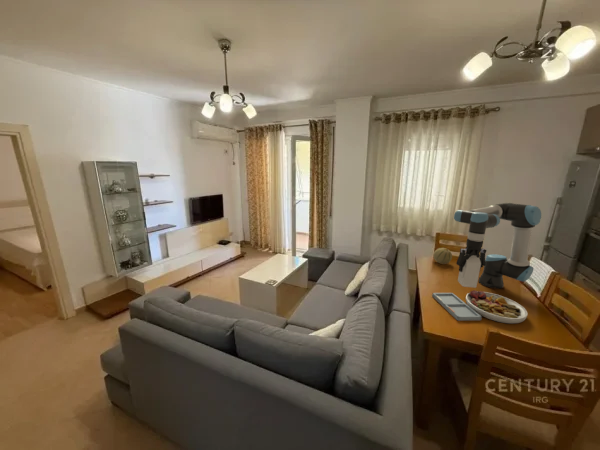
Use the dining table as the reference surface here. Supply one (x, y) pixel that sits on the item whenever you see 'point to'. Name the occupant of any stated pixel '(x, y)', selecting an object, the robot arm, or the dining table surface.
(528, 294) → the dining table surface
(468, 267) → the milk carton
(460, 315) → the divided tray
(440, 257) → the cantaloupe
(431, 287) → the dining table surface
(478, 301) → the plate of food
